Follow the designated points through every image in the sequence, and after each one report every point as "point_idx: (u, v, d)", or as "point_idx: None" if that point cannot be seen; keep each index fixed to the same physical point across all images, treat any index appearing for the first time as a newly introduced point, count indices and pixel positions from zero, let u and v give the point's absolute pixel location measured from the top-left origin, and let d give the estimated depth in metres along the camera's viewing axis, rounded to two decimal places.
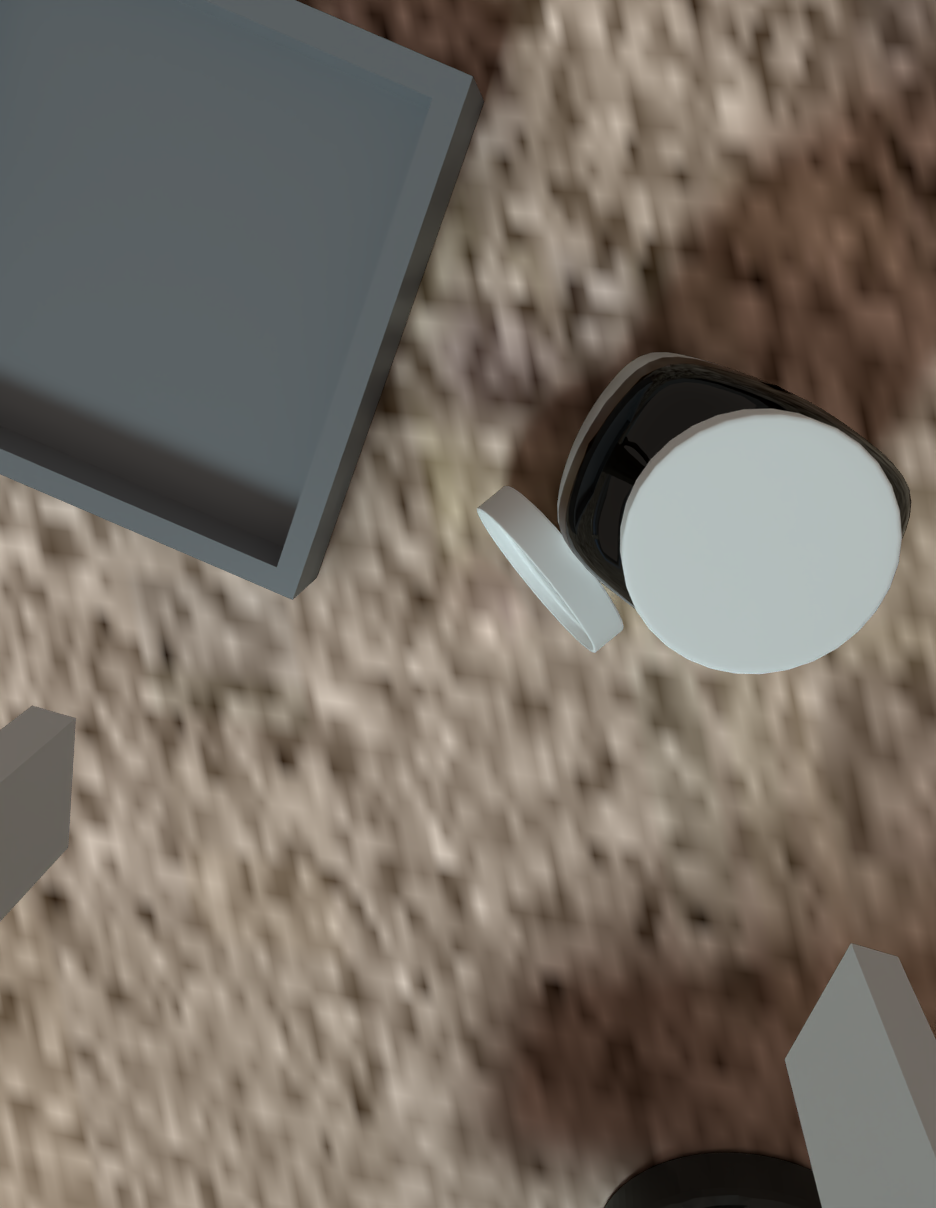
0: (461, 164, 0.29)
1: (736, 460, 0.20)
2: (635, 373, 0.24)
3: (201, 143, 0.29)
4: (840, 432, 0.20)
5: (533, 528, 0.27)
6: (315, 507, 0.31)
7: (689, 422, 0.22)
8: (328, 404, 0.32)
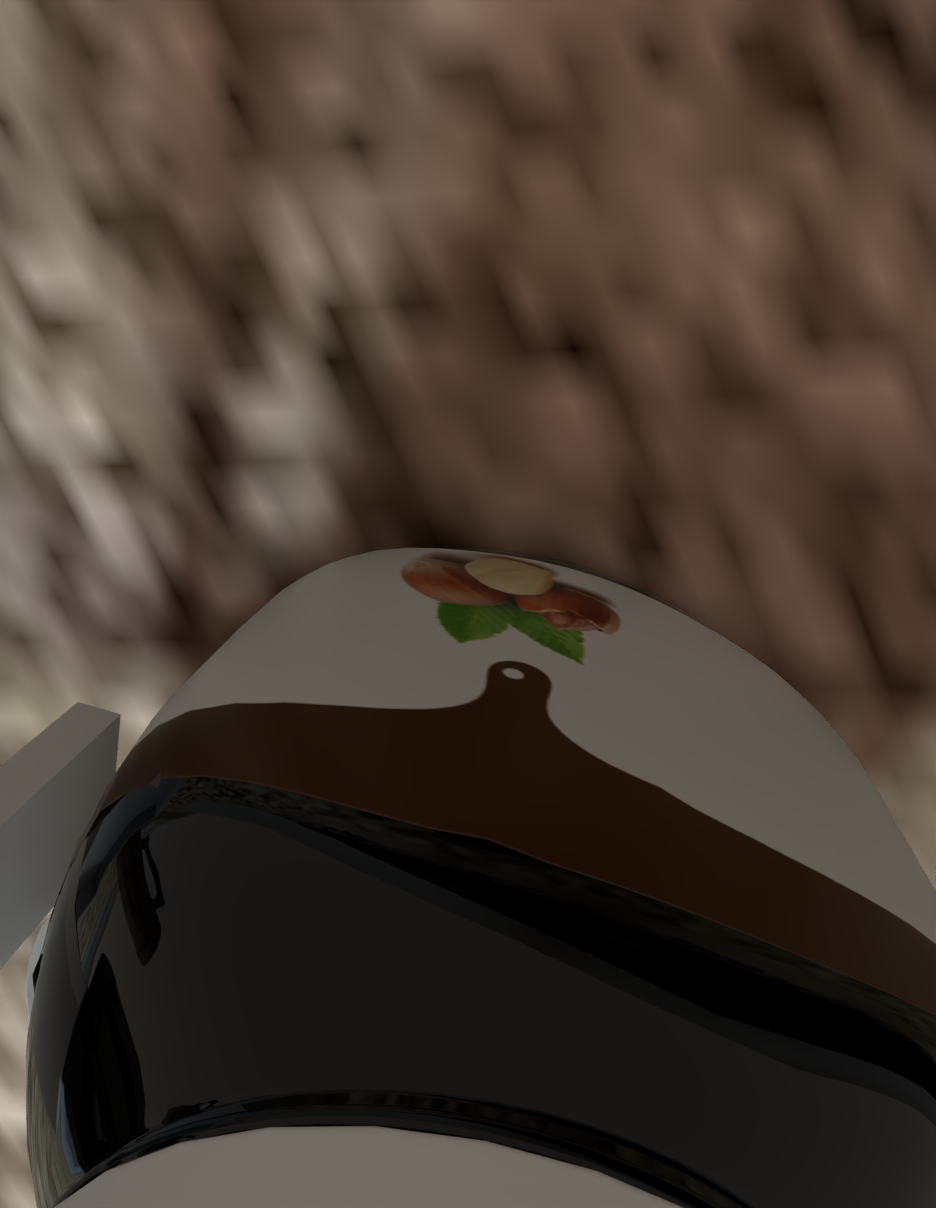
0: None
1: None
2: (120, 768, 0.08)
3: None
4: None
5: None
6: None
7: (149, 1085, 0.06)
8: None
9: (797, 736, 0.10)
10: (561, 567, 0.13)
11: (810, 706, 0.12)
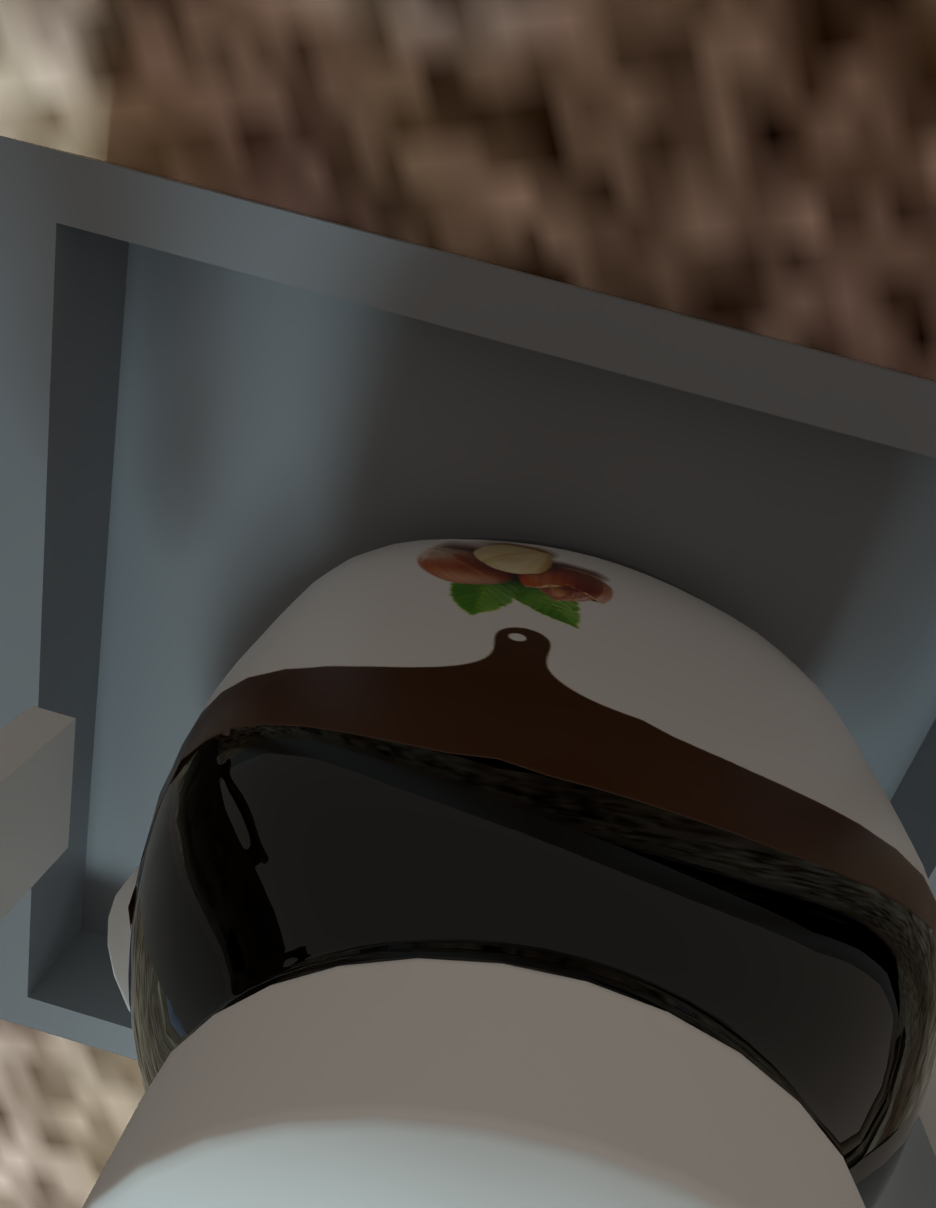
0: None
1: None
2: (192, 728, 0.10)
3: None
4: (601, 1161, 0.05)
5: None
6: None
7: (239, 958, 0.07)
8: None
9: (771, 683, 0.12)
10: (560, 550, 0.15)
11: (788, 660, 0.14)
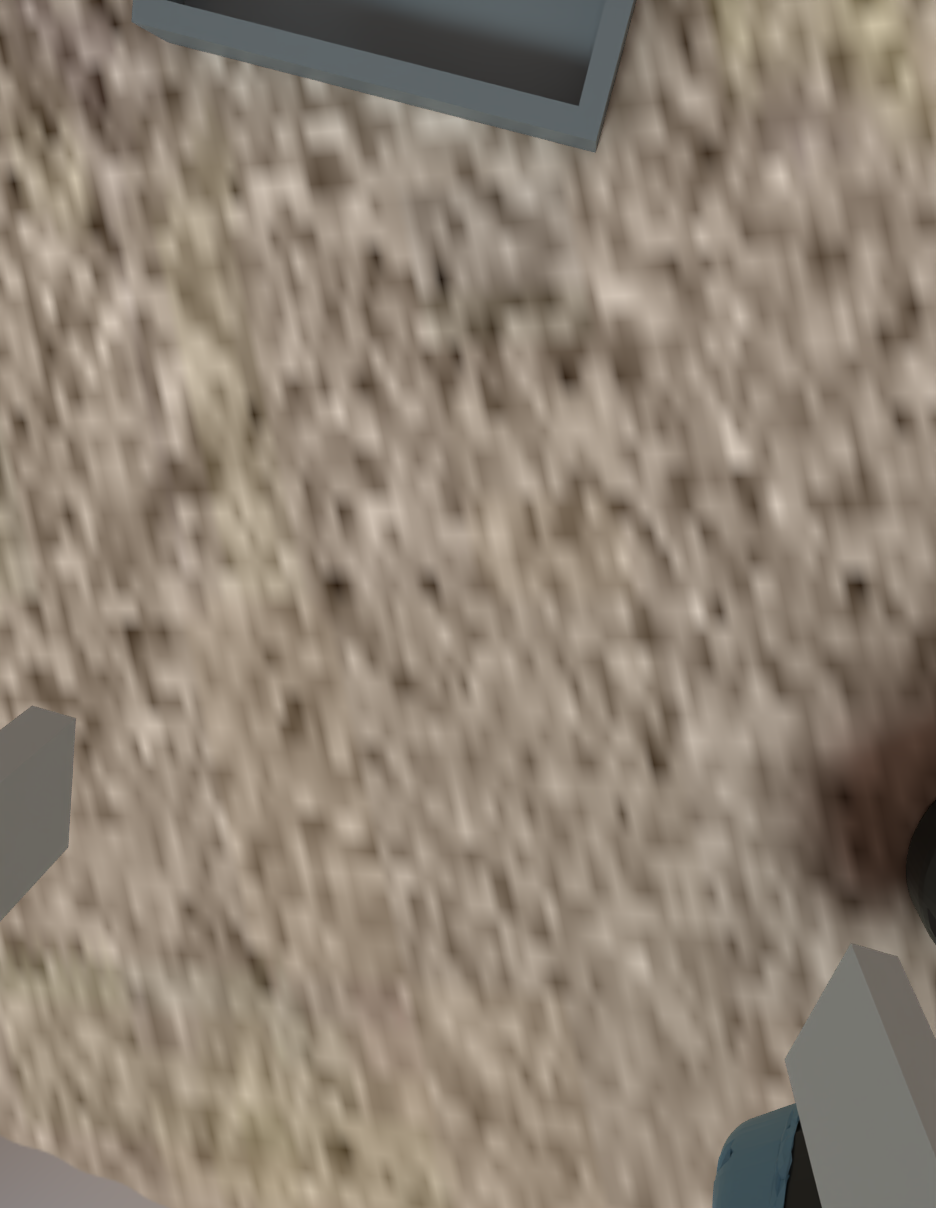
0: None
1: None
2: None
3: None
4: None
5: None
6: (618, 23, 0.30)
7: None
8: None
9: None
10: None
11: None
